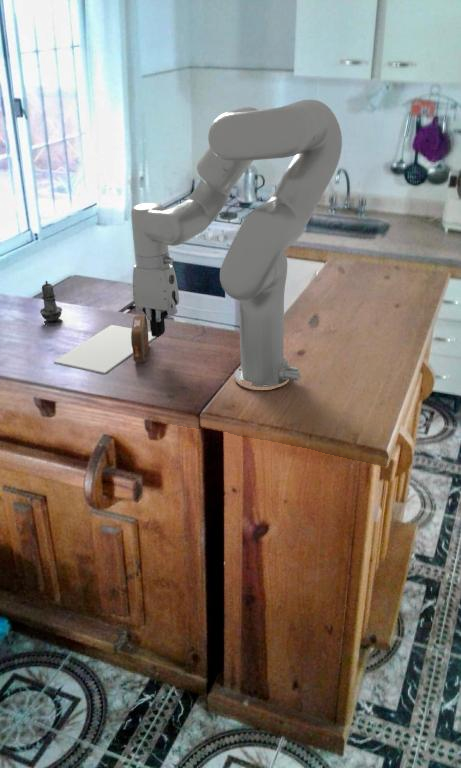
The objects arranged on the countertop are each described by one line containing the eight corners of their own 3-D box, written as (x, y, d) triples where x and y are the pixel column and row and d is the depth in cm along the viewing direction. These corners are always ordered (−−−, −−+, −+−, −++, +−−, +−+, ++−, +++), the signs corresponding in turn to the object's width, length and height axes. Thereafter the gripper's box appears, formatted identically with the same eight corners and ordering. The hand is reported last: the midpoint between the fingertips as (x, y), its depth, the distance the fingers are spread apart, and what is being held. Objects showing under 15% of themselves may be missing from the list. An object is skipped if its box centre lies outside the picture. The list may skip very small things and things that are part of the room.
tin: (144, 368, 166) (143, 335, 162) (131, 368, 166) (129, 335, 162) (149, 340, 179) (148, 309, 175) (136, 340, 179) (135, 309, 175)
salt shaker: (67, 323, 192) (61, 281, 186) (46, 328, 189) (39, 286, 184) (58, 316, 196) (52, 275, 191) (38, 321, 193) (31, 280, 188)
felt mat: (159, 334, 183) (159, 333, 183) (105, 373, 164) (105, 372, 164) (111, 326, 189) (111, 324, 189) (53, 362, 170) (53, 361, 170)
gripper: (189, 259, 159) (193, 333, 168) (133, 251, 165) (140, 324, 174) (172, 269, 153) (177, 346, 162) (115, 260, 159) (122, 335, 168)
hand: (158, 334), depth 168 cm, fingers closed
